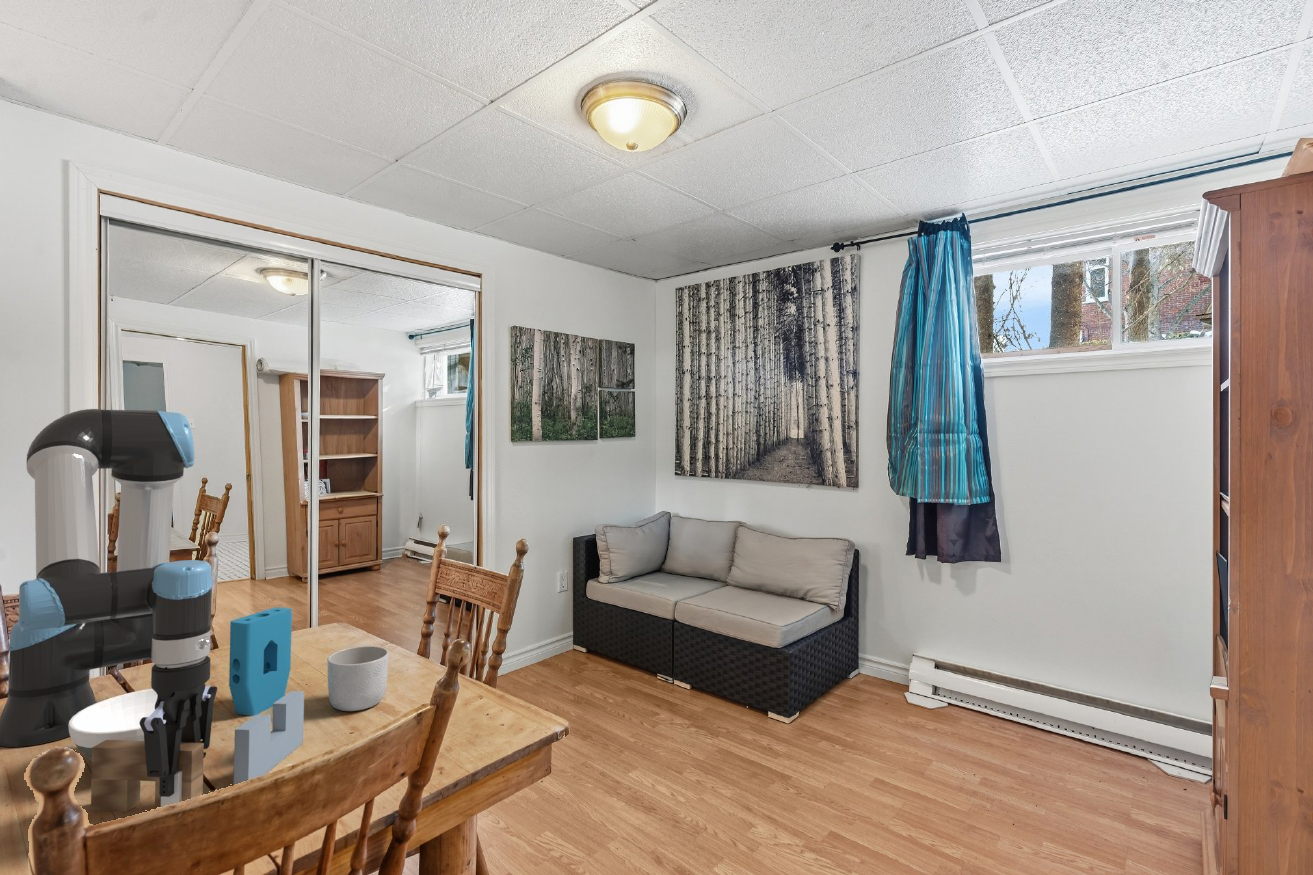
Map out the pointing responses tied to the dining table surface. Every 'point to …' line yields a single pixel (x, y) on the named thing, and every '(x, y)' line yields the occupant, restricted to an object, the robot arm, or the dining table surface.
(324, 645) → the dining table surface
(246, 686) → the block
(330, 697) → the planter
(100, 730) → the bowl
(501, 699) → the dining table surface
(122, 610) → the robot arm
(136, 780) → the wooden blocks
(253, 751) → the slot stand
